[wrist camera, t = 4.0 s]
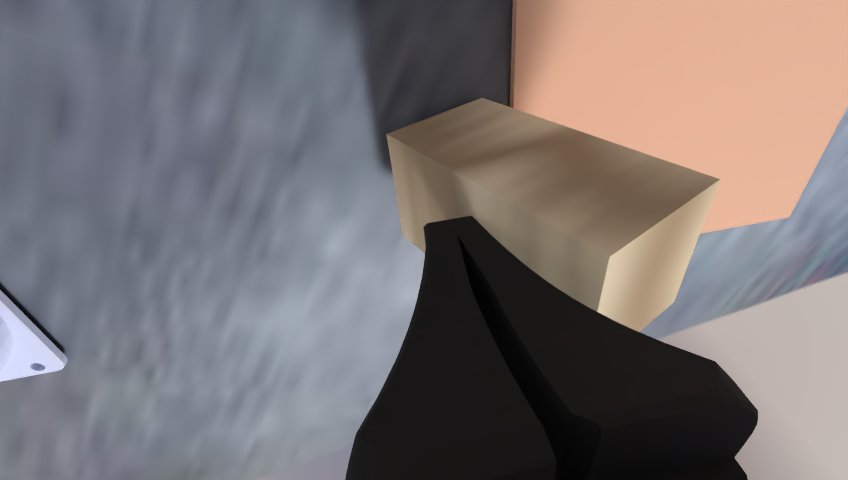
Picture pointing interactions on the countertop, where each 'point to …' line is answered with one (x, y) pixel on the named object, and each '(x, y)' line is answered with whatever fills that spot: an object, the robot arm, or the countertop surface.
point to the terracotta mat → (694, 87)
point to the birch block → (556, 203)
